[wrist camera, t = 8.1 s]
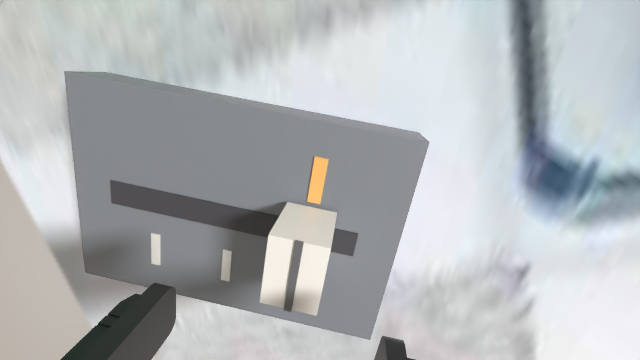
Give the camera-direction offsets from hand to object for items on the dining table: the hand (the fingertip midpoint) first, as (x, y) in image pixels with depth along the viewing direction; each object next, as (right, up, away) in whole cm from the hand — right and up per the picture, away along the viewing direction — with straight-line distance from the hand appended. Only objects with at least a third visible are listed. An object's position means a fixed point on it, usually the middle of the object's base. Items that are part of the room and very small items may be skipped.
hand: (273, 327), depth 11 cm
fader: (+1, +2, +7) cm, 7 cm away
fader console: (-4, +4, +10) cm, 12 cm away
